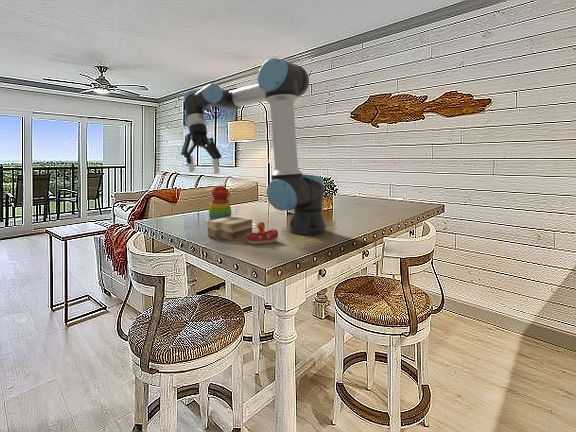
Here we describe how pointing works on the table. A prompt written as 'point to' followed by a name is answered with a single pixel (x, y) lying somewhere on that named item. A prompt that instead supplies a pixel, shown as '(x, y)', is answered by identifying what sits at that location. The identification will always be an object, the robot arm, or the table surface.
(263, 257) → the table surface
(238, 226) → the pedestal
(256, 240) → the toy boat
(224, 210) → the stacking bear
